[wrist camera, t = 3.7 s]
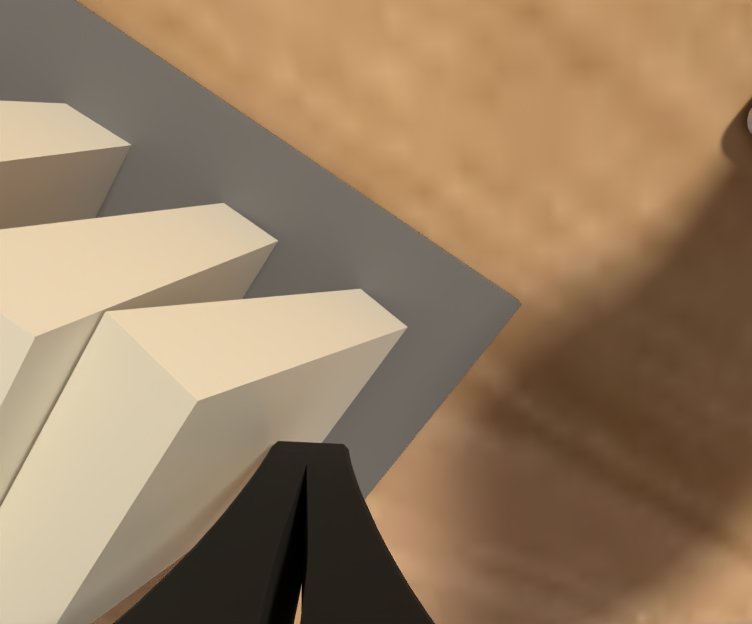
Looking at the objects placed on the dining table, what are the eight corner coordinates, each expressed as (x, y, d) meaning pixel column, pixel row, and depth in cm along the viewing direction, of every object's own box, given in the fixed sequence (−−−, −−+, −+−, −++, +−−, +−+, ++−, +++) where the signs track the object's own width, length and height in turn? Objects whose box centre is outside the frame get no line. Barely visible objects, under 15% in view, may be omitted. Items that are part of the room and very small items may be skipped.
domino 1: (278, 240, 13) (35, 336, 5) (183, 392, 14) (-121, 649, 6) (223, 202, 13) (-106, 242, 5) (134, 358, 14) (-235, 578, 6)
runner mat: (517, 299, 14) (521, 304, 14) (339, 522, 17) (338, 531, 16) (-425, -340, 9) (-457, -358, 9) (-485, 107, 12) (-512, 107, 11)
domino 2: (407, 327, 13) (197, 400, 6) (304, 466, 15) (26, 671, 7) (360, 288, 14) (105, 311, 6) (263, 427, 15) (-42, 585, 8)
